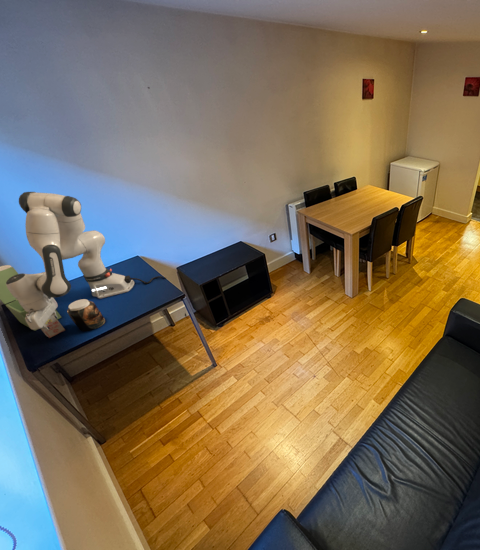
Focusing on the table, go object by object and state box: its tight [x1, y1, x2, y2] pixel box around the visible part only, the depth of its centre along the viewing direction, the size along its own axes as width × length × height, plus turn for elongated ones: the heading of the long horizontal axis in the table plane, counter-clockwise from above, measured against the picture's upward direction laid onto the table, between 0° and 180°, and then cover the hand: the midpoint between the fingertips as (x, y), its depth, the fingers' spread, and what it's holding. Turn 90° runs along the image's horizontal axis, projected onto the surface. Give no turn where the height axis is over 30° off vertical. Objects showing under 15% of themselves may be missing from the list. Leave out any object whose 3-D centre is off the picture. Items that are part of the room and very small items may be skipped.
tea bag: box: [40, 315, 66, 339], centre depth 155 cm, size 4×7×10 cm, turn 154°
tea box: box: [5, 300, 62, 332], centre depth 163 cm, size 16×12×13 cm
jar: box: [66, 298, 106, 333], centre depth 159 cm, size 12×12×15 cm
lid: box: [0, 266, 19, 305], centre depth 158 cm, size 16×12×5 cm
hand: (51, 324), depth 154 cm, fingers open, 8 cm apart
